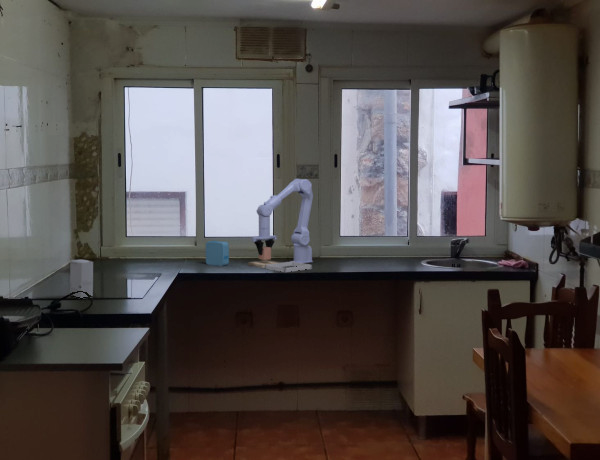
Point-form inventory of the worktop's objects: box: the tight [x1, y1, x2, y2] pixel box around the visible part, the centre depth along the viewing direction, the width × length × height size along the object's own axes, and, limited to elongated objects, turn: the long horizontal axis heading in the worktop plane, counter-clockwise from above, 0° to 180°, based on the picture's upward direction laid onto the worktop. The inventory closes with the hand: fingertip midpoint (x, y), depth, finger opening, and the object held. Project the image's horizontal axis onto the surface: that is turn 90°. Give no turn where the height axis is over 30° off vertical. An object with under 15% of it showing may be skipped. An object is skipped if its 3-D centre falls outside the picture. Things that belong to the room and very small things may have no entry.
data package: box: [205, 240, 230, 267], centre depth 400 cm, size 12×4×12 cm, turn 56°
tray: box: [264, 261, 313, 273], centre depth 386 cm, size 18×16×2 cm
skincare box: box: [69, 259, 94, 299], centre depth 311 cm, size 8×6×15 cm
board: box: [247, 259, 281, 269], centre depth 398 cm, size 12×12×2 cm
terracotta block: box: [258, 246, 272, 261], centre depth 397 cm, size 4×4×6 cm
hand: (264, 254), depth 397 cm, fingers closed on terracotta block, 4 cm apart
